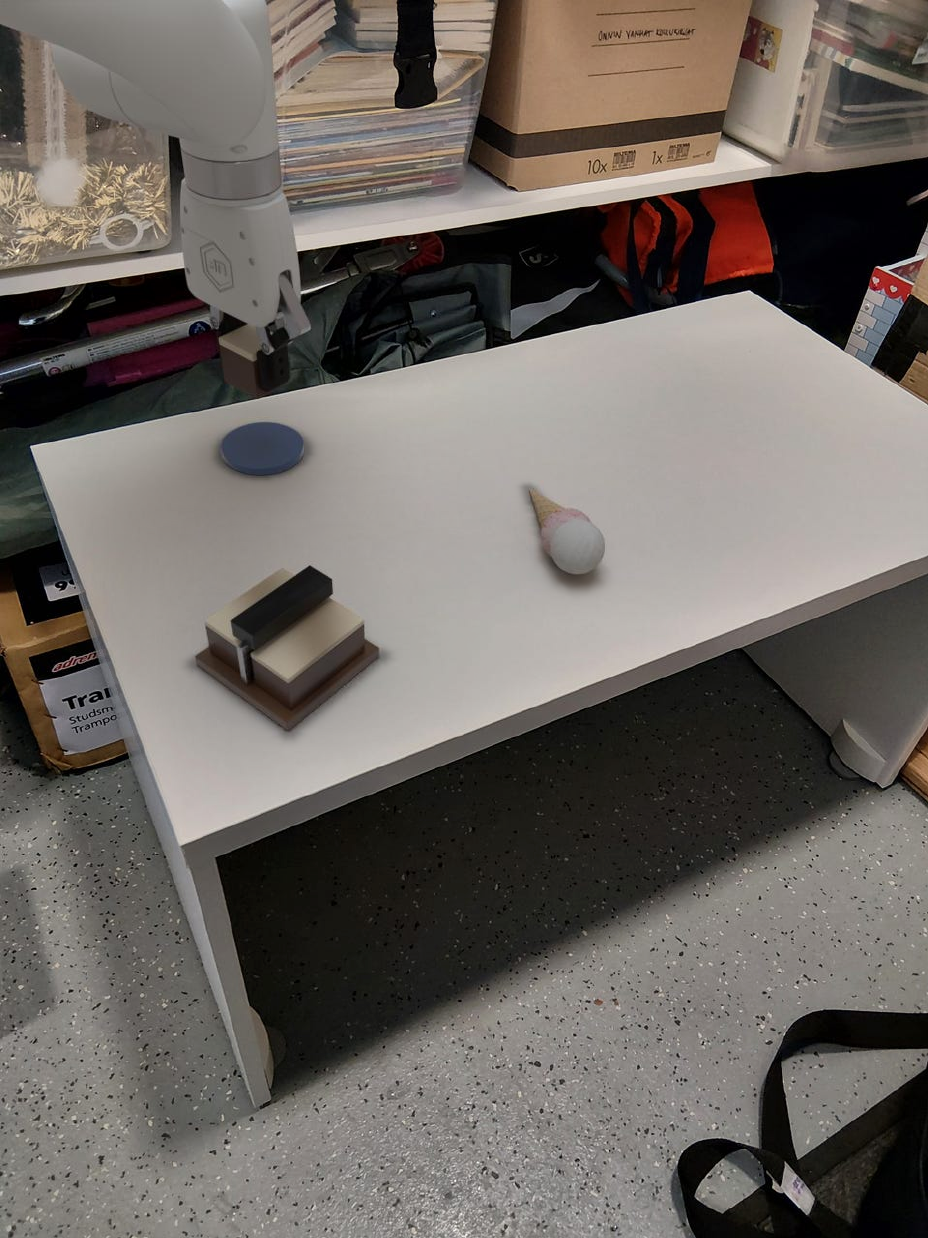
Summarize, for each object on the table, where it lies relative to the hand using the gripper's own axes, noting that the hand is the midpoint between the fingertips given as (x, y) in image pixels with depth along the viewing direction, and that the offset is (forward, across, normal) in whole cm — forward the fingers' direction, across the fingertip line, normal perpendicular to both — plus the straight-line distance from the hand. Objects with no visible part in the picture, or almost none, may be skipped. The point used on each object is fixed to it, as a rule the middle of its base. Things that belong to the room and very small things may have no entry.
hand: (255, 373), depth 87 cm
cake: (+8, +22, -18) cm, 30 cm away
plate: (+9, 0, 0) cm, 9 cm away
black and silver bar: (+7, +22, -18) cm, 29 cm away
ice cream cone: (+9, +29, +8) cm, 31 cm away
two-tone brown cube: (+1, 0, 0) cm, 1 cm away
